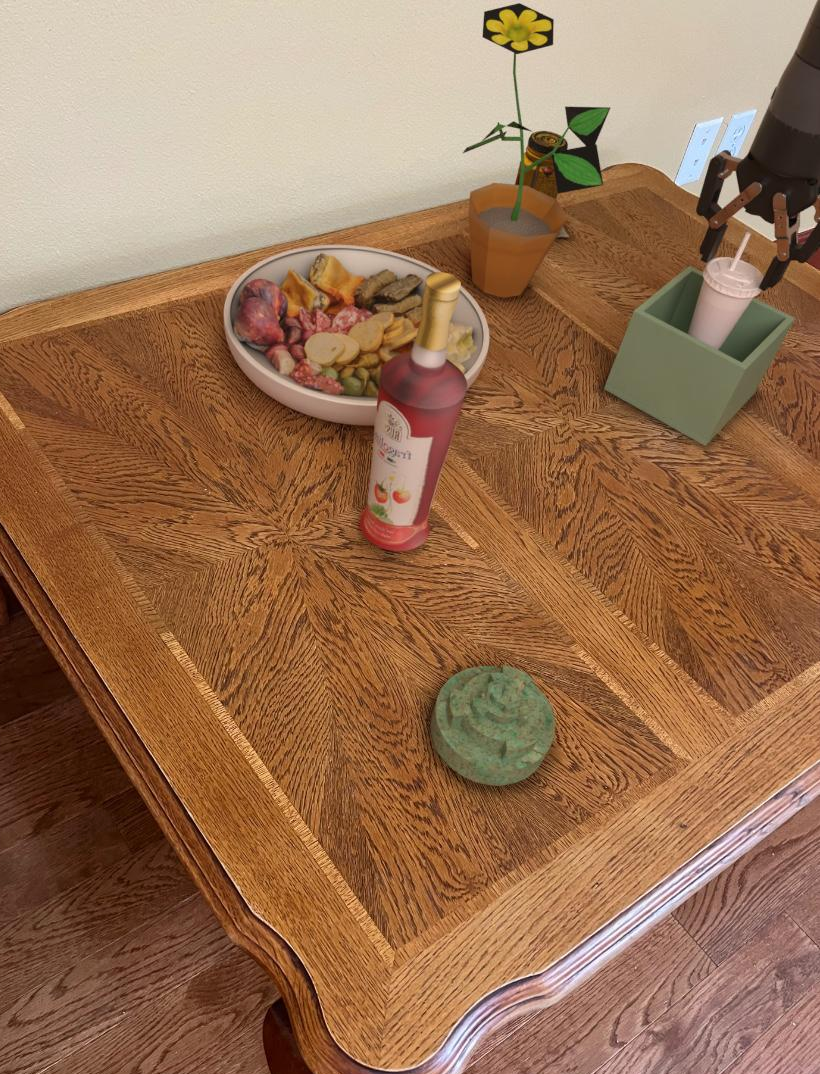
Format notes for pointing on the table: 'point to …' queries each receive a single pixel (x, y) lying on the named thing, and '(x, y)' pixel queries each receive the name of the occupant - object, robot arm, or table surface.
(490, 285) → the potted plant
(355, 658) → the table surface
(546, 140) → the condiment
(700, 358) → the bin
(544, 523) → the table surface
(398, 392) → the liquor
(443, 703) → the decorative artifact
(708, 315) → the smoothie
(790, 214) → the robot arm
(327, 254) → the bowl
